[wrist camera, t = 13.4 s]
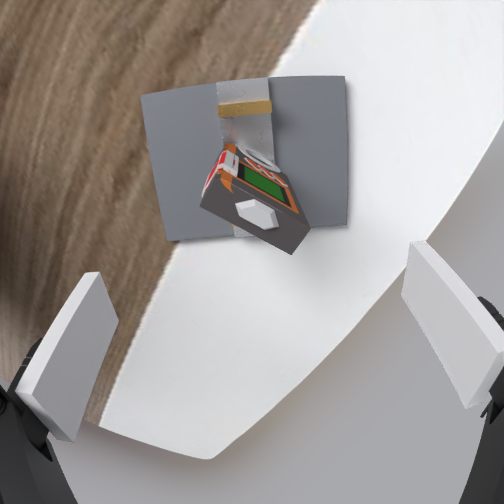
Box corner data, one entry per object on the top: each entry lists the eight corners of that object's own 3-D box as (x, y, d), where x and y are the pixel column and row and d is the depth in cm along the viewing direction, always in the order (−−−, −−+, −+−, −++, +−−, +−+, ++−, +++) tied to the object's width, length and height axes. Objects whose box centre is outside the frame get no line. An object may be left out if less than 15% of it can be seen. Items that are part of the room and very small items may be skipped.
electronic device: (285, 166, 33) (315, 226, 19) (270, 189, 34) (288, 262, 21) (228, 133, 31) (216, 170, 18) (214, 157, 32) (192, 213, 19)
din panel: (169, 236, 38) (167, 241, 37) (143, 95, 30) (140, 95, 29) (343, 220, 38) (346, 224, 37) (341, 76, 30) (344, 76, 29)
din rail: (234, 234, 37) (234, 246, 35) (216, 82, 29) (214, 82, 26) (278, 230, 37) (281, 241, 35) (266, 77, 29) (269, 76, 26)
